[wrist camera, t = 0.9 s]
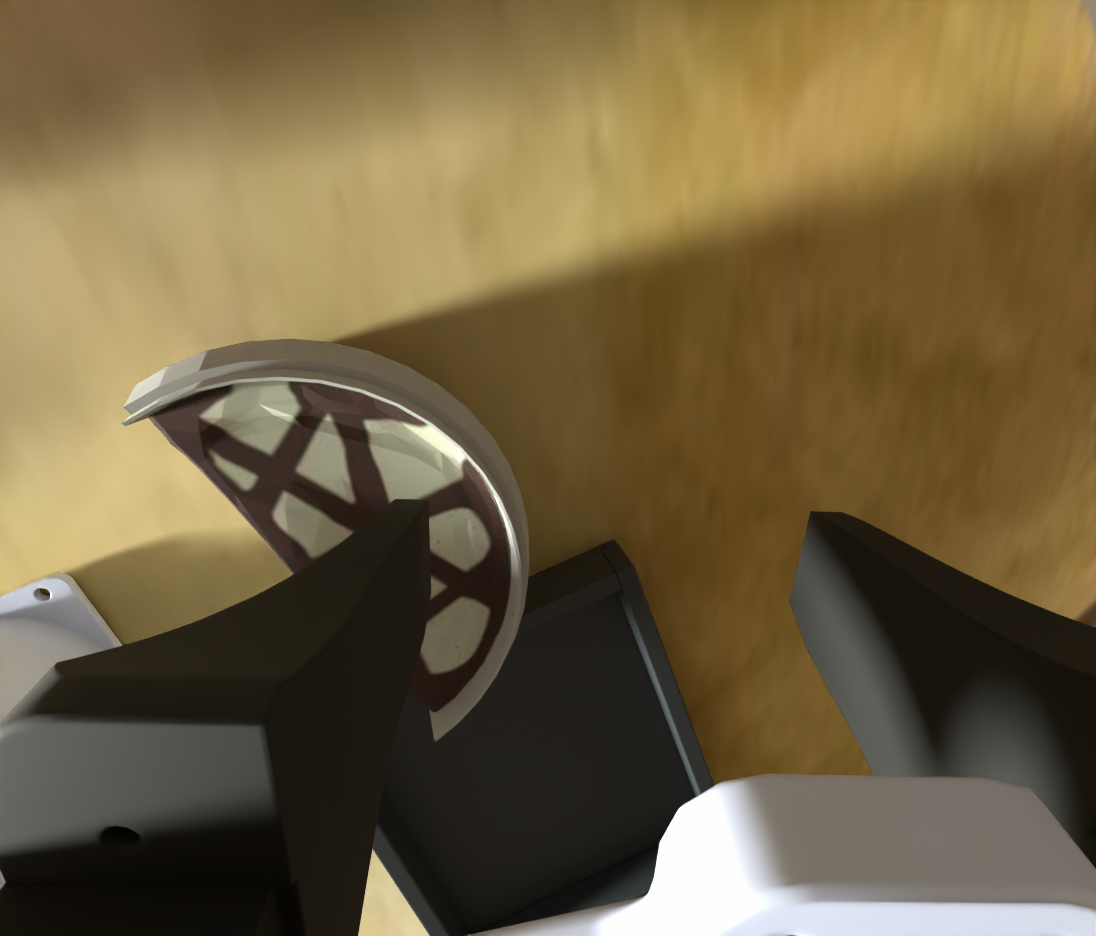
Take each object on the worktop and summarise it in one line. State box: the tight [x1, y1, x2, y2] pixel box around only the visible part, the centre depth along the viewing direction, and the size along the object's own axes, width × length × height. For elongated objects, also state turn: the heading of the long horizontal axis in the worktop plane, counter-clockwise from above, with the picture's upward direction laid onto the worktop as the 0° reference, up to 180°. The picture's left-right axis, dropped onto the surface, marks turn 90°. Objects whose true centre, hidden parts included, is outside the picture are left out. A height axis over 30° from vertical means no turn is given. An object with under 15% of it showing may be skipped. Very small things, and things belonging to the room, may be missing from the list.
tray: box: [372, 540, 714, 936], centre depth 31 cm, size 15×18×3 cm
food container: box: [122, 339, 529, 741], centre depth 21 cm, size 12×6×10 cm, turn 34°
